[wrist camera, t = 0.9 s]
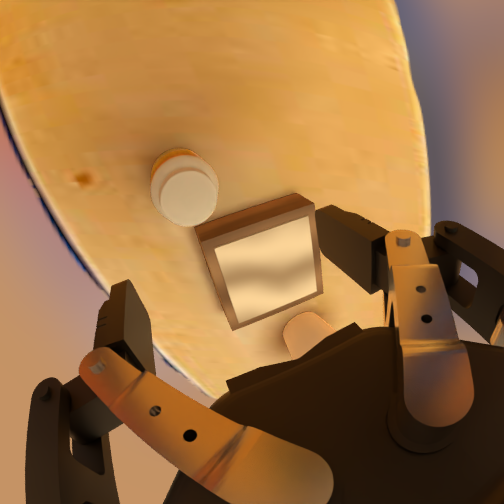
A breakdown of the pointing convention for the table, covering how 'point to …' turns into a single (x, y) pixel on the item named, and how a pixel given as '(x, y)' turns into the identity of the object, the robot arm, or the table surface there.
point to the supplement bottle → (183, 187)
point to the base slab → (263, 258)
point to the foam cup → (305, 333)
